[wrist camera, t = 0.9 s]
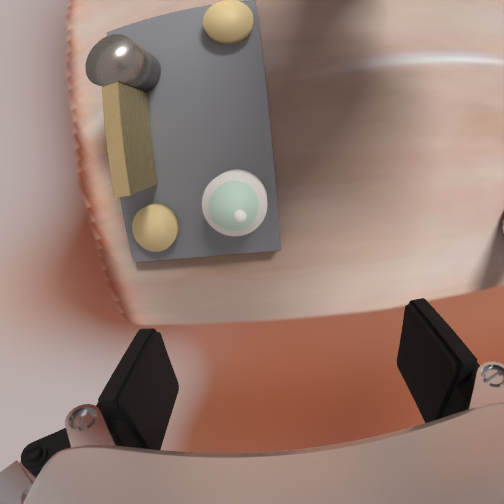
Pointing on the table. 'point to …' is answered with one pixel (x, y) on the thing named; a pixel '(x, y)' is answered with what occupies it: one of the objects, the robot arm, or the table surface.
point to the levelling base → (206, 138)
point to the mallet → (126, 109)
